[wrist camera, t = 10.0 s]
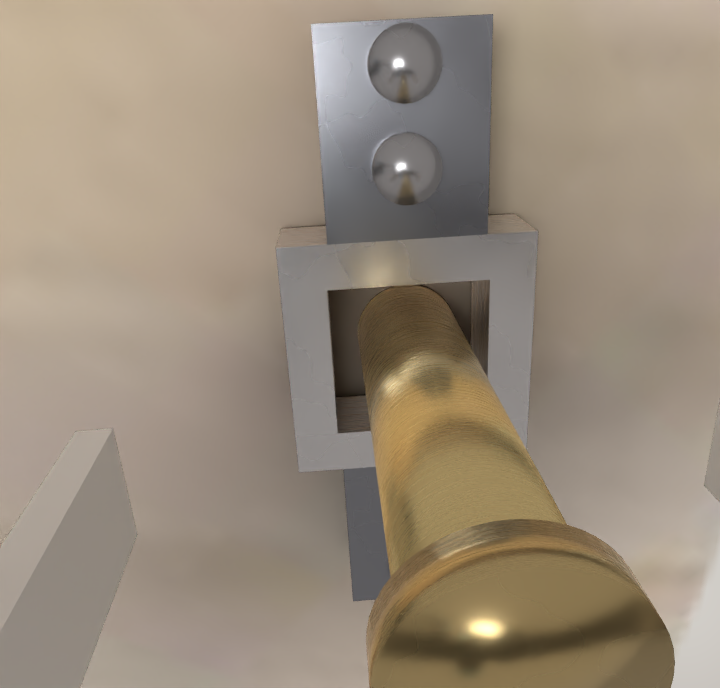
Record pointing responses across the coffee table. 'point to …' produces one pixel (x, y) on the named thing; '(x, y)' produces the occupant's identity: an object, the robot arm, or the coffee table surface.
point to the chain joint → (400, 235)
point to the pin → (482, 533)
